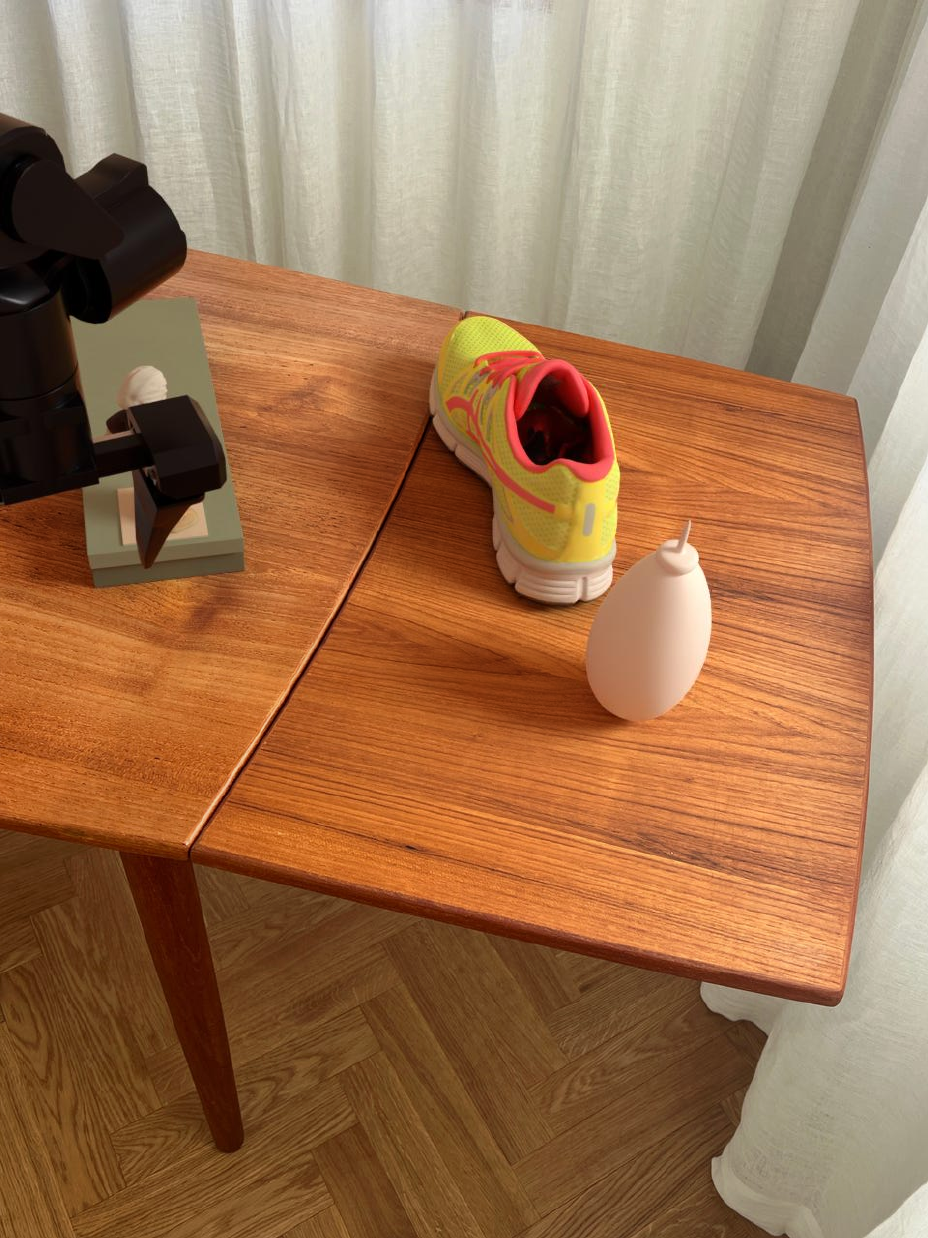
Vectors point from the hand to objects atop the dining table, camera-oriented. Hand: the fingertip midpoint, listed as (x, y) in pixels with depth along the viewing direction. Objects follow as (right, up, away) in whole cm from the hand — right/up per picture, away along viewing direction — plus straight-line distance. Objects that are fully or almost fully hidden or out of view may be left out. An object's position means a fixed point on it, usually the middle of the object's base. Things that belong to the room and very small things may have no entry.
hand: (68, 584), depth 66 cm
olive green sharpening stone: (-2, +12, +27) cm, 30 cm away
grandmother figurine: (+1, +6, +16) cm, 17 cm away
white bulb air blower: (+35, -8, +14) cm, 39 cm away
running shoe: (+28, +9, +29) cm, 41 cm away
